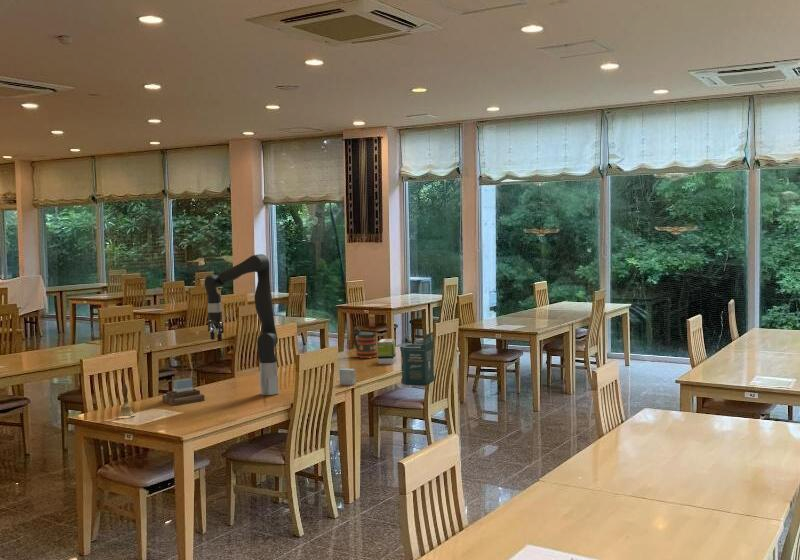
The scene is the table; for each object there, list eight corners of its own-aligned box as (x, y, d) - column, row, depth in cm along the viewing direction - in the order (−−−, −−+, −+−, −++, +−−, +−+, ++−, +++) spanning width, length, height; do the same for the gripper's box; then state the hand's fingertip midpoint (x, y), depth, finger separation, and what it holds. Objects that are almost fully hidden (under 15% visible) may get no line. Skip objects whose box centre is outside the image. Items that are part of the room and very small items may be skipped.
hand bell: (118, 419, 378) (116, 386, 377) (116, 416, 386) (115, 383, 385) (136, 417, 381) (134, 384, 380) (134, 414, 389) (133, 381, 388)
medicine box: (355, 383, 452) (355, 368, 451) (352, 385, 448) (352, 370, 447) (343, 383, 455) (342, 368, 454) (339, 384, 450) (339, 369, 450)
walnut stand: (204, 400, 417) (204, 391, 417) (175, 405, 407) (175, 395, 406) (191, 396, 429) (190, 387, 429) (162, 400, 419) (162, 391, 419)
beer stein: (347, 357, 550) (346, 328, 549) (359, 354, 563) (358, 326, 561) (369, 359, 540) (369, 330, 539) (381, 356, 553) (380, 327, 551)
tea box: (381, 360, 534) (380, 338, 533) (396, 360, 533) (395, 338, 532) (377, 364, 519) (377, 341, 518) (393, 364, 518) (392, 341, 517)
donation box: (425, 385, 441) (424, 335, 439) (398, 384, 446) (397, 334, 445) (434, 380, 456) (433, 331, 454) (408, 379, 461) (406, 331, 460)
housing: (177, 396, 413) (176, 381, 413) (173, 395, 417) (172, 380, 416) (193, 394, 419) (192, 379, 418) (189, 393, 422) (188, 378, 422)
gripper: (202, 311, 444) (204, 339, 445) (214, 312, 433) (215, 342, 434) (215, 309, 449) (216, 338, 450) (227, 311, 438) (228, 340, 439)
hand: (216, 340), depth 442 cm, fingers open, 8 cm apart
